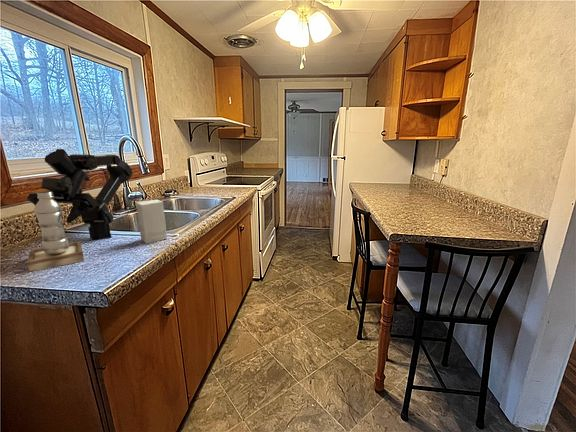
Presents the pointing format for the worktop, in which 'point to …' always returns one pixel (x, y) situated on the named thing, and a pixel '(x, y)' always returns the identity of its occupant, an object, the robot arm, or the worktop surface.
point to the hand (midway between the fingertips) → (53, 222)
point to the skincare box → (151, 221)
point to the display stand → (54, 257)
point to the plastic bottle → (51, 223)
